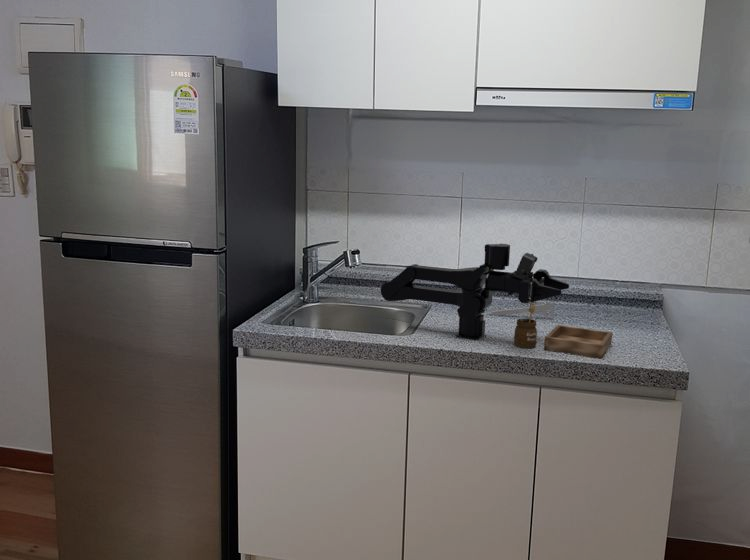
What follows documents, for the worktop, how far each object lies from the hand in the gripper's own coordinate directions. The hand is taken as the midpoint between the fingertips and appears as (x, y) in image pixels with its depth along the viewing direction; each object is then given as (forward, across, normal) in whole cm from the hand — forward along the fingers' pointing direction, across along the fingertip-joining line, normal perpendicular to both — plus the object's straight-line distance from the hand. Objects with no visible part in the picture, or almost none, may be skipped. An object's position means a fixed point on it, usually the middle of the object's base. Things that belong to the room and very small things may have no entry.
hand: (565, 289), depth 192 cm
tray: (+4, +5, +16) cm, 18 cm away
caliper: (-19, +30, +17) cm, 40 cm away
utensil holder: (-9, -1, +17) cm, 19 cm away
